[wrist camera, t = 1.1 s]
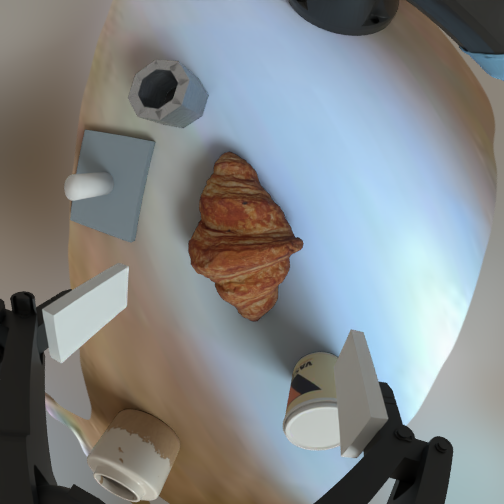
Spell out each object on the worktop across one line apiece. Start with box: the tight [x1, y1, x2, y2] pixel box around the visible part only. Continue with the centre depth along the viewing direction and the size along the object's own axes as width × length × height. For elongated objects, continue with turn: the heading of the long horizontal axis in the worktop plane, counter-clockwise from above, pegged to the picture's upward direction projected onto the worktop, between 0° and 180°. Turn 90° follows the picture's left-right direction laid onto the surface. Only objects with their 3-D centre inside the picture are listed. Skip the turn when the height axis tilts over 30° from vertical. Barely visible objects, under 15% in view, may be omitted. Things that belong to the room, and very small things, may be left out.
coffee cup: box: [283, 352, 340, 450], centre depth 35 cm, size 9×9×12 cm
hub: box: [128, 60, 209, 128], centre depth 30 cm, size 7×7×7 cm
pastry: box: [188, 152, 303, 321], centre depth 34 cm, size 17×15×8 cm
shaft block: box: [64, 130, 155, 242], centre depth 34 cm, size 14×12×8 cm
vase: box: [87, 409, 180, 502], centre depth 43 cm, size 15×15×17 cm
